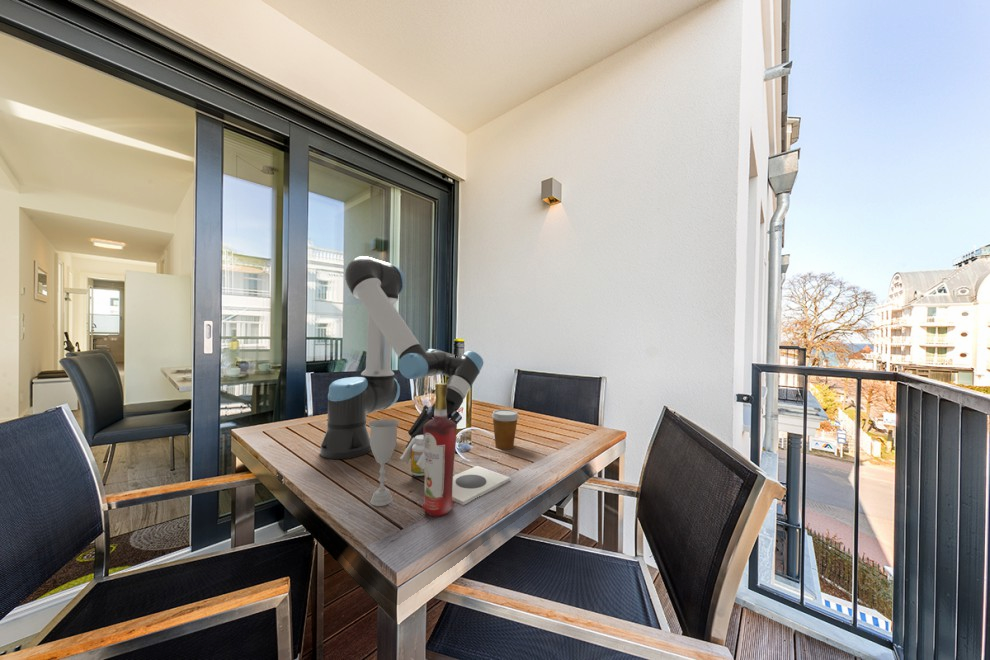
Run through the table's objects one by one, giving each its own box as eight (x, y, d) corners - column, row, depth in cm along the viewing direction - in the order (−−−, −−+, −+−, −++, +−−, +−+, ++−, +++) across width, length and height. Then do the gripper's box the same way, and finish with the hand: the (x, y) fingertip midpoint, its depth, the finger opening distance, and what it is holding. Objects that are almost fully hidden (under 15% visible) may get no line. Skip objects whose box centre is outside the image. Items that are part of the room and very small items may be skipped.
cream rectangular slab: (477, 468, 100) (477, 465, 100) (510, 480, 92) (510, 476, 92) (428, 489, 86) (429, 485, 86) (463, 505, 78) (463, 500, 78)
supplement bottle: (415, 467, 97) (416, 433, 97) (433, 469, 96) (435, 434, 96) (407, 475, 92) (408, 438, 92) (426, 477, 91) (427, 440, 91)
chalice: (402, 501, 79) (404, 423, 79) (374, 511, 74) (376, 428, 75) (388, 490, 84) (390, 417, 85) (360, 499, 80) (363, 421, 80)
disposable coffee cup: (515, 452, 114) (516, 416, 114) (488, 449, 116) (489, 414, 116) (519, 443, 124) (520, 410, 124) (493, 441, 126) (494, 408, 126)
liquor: (413, 512, 74) (417, 384, 75) (437, 499, 80) (440, 380, 81) (438, 524, 70) (442, 387, 70) (461, 509, 76) (464, 383, 76)
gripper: (482, 405, 102) (444, 479, 88) (436, 397, 112) (395, 462, 98) (472, 390, 97) (430, 465, 83) (425, 383, 107) (380, 449, 93)
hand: (411, 463), depth 91 cm, fingers closed on supplement bottle, 5 cm apart
